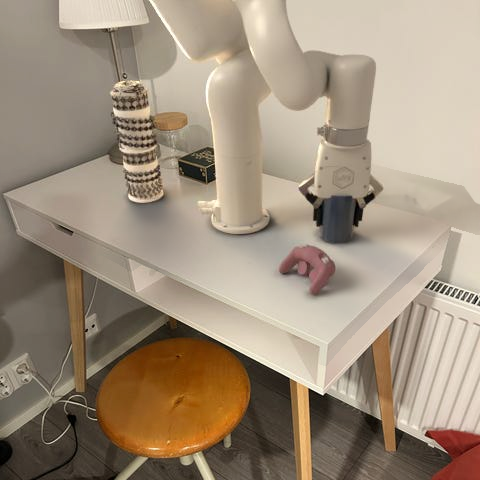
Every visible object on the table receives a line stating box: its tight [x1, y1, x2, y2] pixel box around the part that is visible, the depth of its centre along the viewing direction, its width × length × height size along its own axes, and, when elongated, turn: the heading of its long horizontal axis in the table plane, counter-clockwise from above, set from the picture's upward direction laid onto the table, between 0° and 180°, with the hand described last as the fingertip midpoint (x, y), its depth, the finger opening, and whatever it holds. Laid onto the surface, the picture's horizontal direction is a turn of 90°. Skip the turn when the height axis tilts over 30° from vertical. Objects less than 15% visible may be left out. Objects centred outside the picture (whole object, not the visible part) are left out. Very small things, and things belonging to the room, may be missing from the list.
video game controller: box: [278, 243, 337, 296], centre depth 86 cm, size 10×5×7 cm, turn 35°
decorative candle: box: [109, 80, 164, 204], centre depth 109 cm, size 9×9×25 cm
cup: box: [318, 196, 357, 245], centre depth 96 cm, size 7×7×10 cm
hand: (336, 223), depth 98 cm, fingers closed on cup, 6 cm apart
